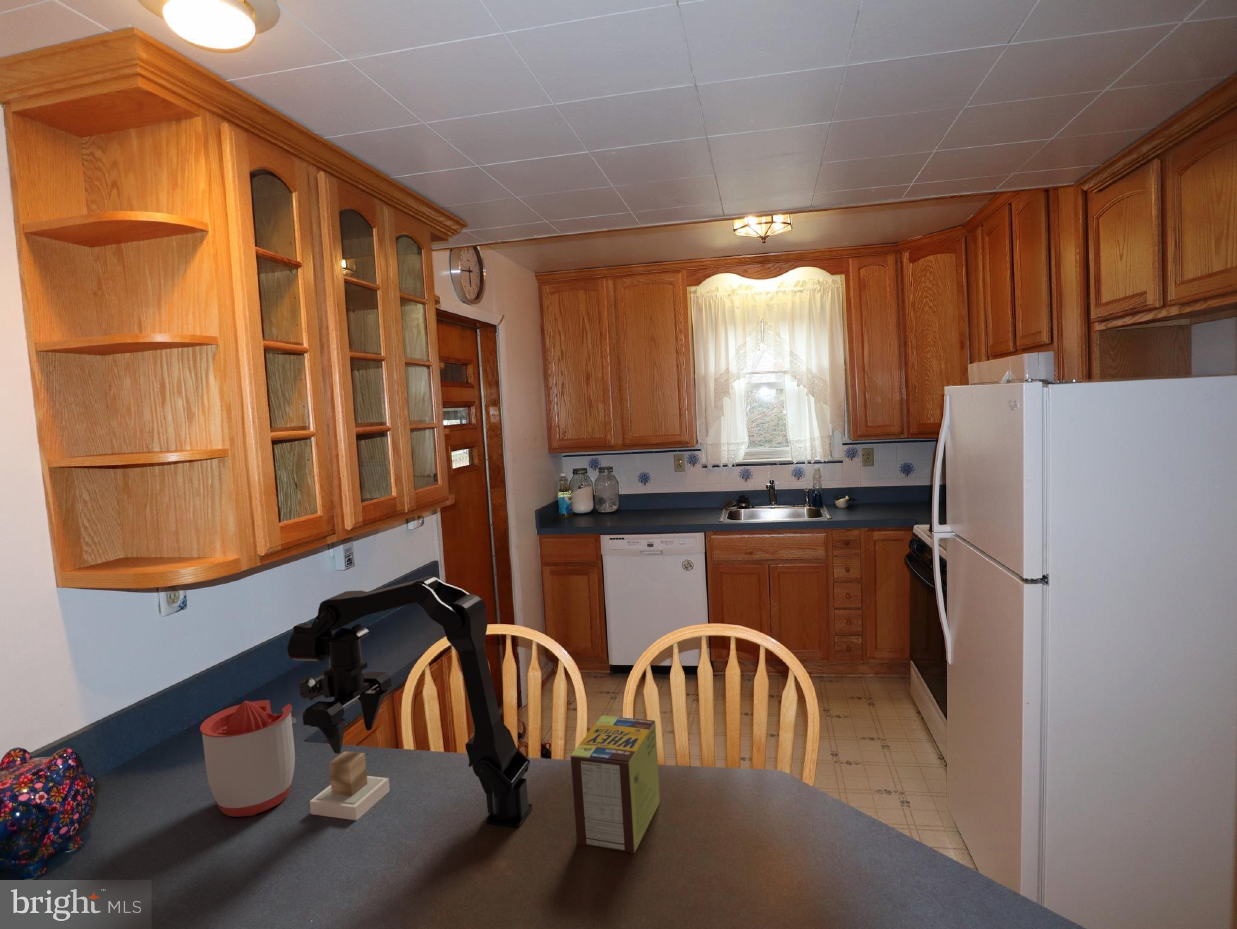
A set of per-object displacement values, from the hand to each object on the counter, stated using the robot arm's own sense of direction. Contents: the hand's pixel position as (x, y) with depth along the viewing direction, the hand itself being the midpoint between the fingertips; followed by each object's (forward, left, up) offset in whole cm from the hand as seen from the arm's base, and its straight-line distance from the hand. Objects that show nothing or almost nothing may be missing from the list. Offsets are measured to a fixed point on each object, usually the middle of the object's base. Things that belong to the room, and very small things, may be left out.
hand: (353, 741), depth 134 cm
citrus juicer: (+20, +3, -12) cm, 24 cm away
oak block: (+1, +1, -9) cm, 9 cm away
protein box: (-51, -3, -12) cm, 52 cm away
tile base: (+1, +1, -12) cm, 12 cm away
